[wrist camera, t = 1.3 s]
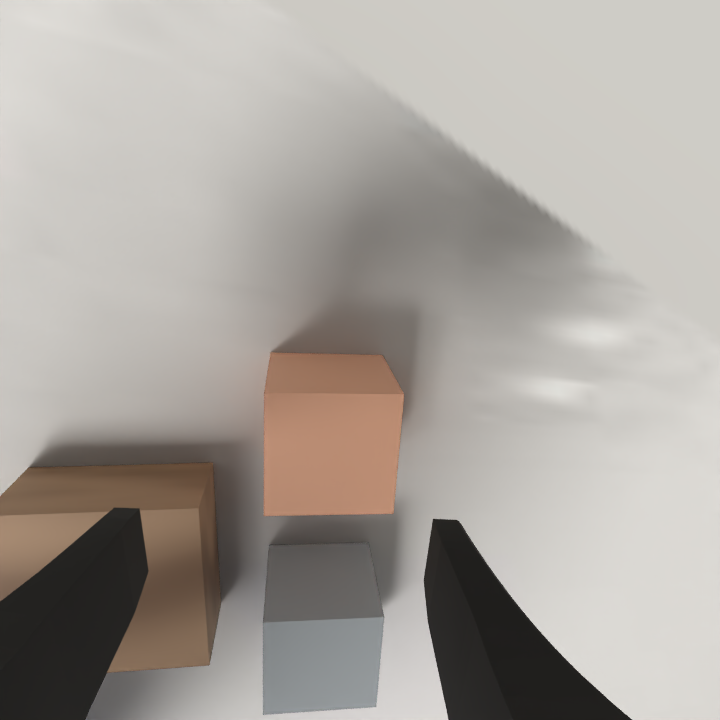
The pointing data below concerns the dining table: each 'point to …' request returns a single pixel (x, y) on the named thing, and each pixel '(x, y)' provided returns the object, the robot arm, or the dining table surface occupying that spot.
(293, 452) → the terracotta block
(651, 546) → the dining table surface
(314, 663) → the slate grey block
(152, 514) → the walnut base block
